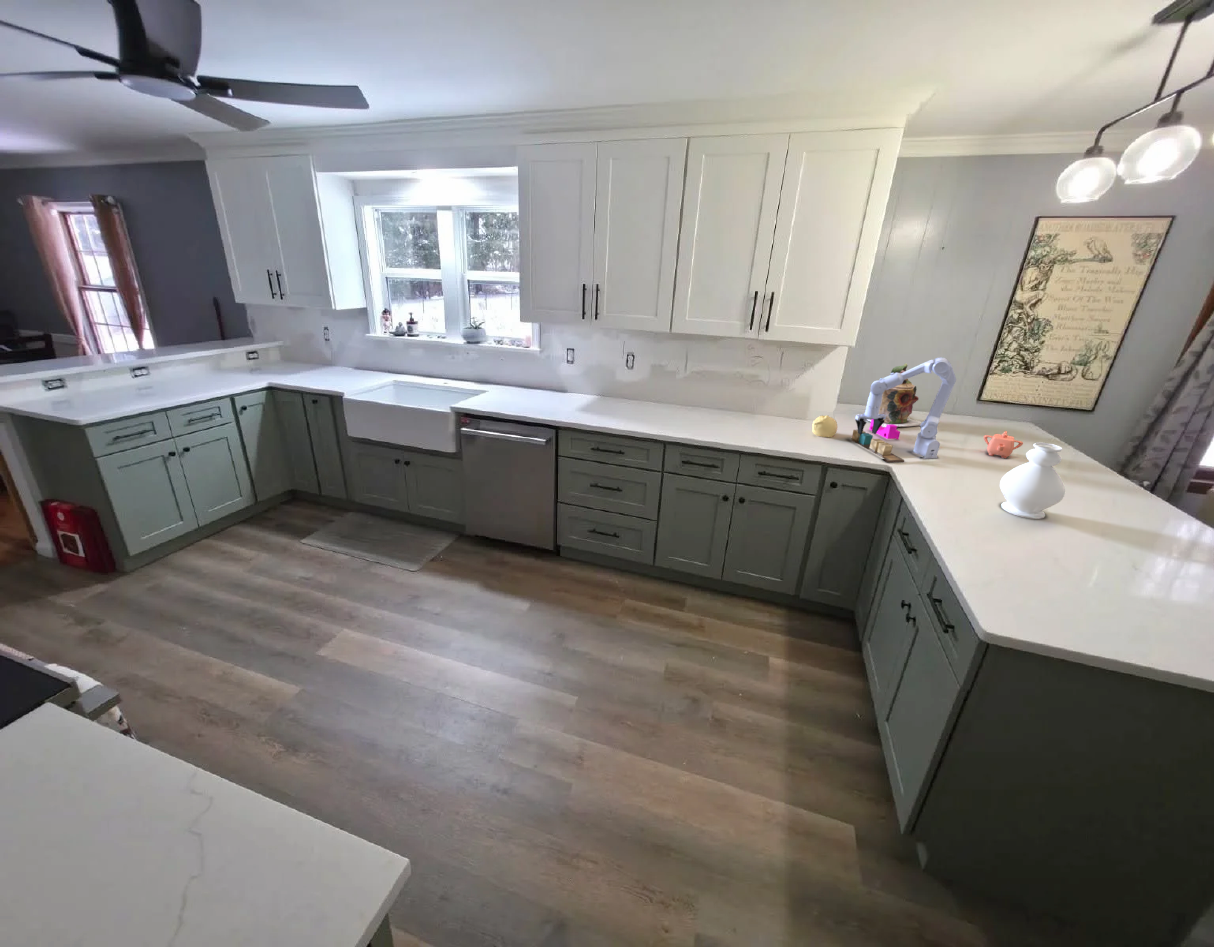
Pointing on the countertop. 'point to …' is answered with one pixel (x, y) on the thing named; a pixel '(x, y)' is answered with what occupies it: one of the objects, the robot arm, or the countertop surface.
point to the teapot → (1001, 444)
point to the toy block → (887, 431)
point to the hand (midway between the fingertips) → (866, 433)
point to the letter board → (878, 448)
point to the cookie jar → (899, 403)
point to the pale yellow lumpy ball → (824, 426)
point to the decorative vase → (1034, 483)
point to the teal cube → (865, 438)
